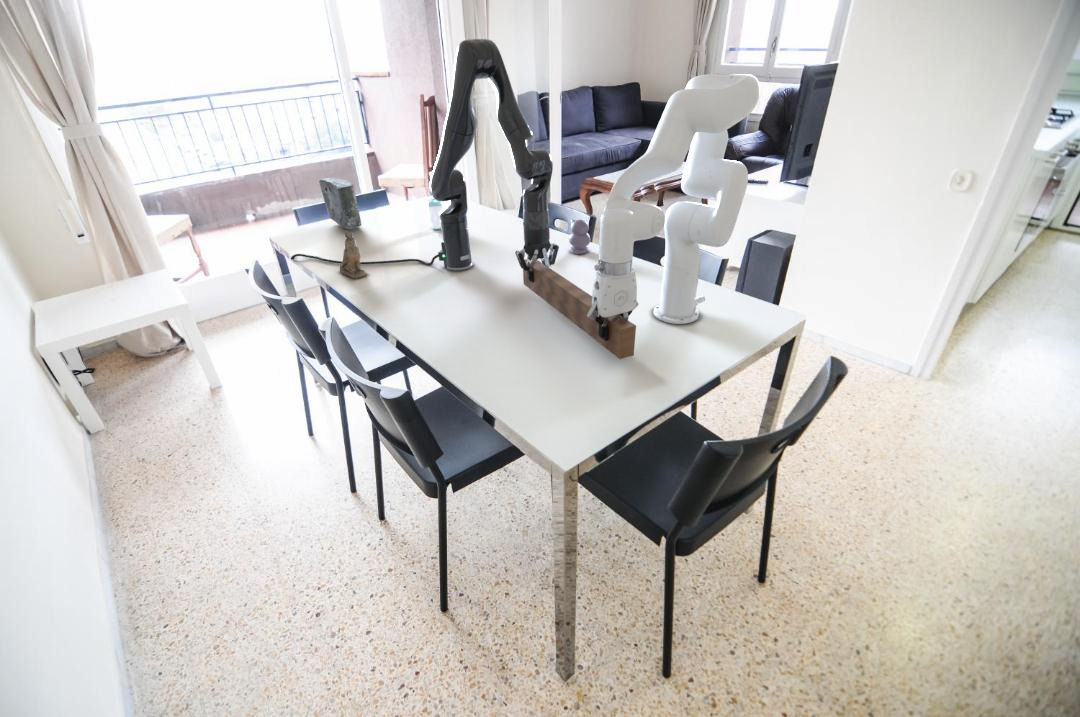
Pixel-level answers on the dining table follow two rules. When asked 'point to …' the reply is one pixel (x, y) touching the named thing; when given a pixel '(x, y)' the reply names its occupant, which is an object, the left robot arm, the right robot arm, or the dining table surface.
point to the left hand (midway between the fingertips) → (538, 279)
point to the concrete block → (341, 202)
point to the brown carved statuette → (351, 258)
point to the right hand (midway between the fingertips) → (611, 335)
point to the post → (581, 309)
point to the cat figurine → (579, 236)
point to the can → (435, 213)
